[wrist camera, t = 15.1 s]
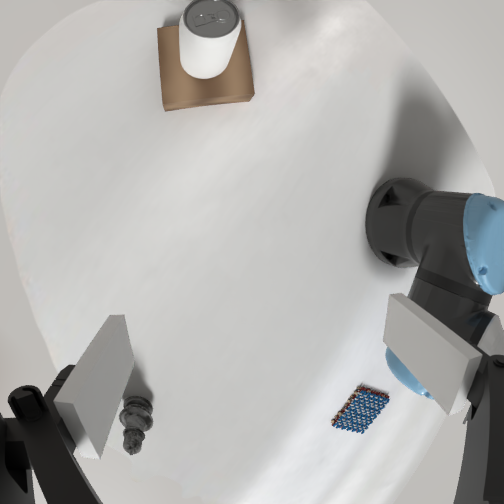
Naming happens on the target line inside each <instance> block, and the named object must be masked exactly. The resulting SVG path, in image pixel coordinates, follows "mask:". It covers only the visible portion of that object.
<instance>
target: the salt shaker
mask: <svg viewBox="0 0 504 504" xmlns="http://www.w3.org/2000/svg"><path fill="white" fill-rule="evenodd" d="M152 412H153V408H152V405H151V403H150V402H149V401H148V400H146V399H144V398H142V397H138V396H133V397H129V398H127V399H126V400H125V402H124V409H123V410H122V411H121V412H120V415H119V419H120V422H121V423H122V425H123V426H124V427H125V428H126V429H124V431H123V436H124V443H123V447H124V449H125V451H127V452H128V453H129V454H130V455H133V454H136V453H139V452H140V450H141V445H142V441H143V440H144V438H145V434H144V433H143V432H145V431H148V430H149V429H150V428H152V426H153V418H152V417H151V414H152Z"/></svg>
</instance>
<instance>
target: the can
mask: <svg viewBox="0 0 504 504" xmlns="http://www.w3.org/2000/svg"><path fill="white" fill-rule="evenodd" d="M240 30H241V19H240V13H239V10H238V8H237V7H236V6H235V4H233V3H232V2H231V1H229V0H194V1H193V2H191V3H190V4H189V5H188V6H187V7H186V9H185V11H184V13H183V14H182V16H181V18H180V22H179V46H180V62H181V65H182V67H183V69H184V70H185V71H186V72H187V73H188V74H189V75H191V76H193V77H195V78H200V79H208V78H213V77H215V76H217V75H219V74H221V73H222V72H223V71H224V70H225V69H226V67H227V65H228V63H229V60H230V58H231V55H232V52H233V49H234V47H235V44H236V41H237V39H238V36H239V33H240Z"/></svg>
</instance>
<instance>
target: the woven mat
mask: <svg viewBox="0 0 504 504" xmlns="http://www.w3.org/2000/svg"><path fill="white" fill-rule="evenodd" d="M357 389H359V390H358V391H355V392H354V396H353V395H351V396H350V397H351V398H353V399H352V400H350V399H349V400H348V403H349V404H347V403H346V404H345V405H344V406H346V407H345V408H342V409H341V410H343V411H341V412H339V413H338V416H336V415H335V416H334V417H336V418H337V419H336V420H332V421H331V423H333V424H332V426H333V427H335V426H336V425H337V424H338V425H337V427H336V428H341V429H342V430H343V429H346V428H347V427H348V429H347V431H348V430H352V432H353V431H357V433H358V432H361V431H362V430H363V431H362V432H361V434H363V433H364V431H365V430H366V429H368V427H369V426H370V424H371V423H373V421H374V419H376V417H377V416H378V415H379V414H381V411H382V409H383V408H385V406H386V405H387V403H389V400H390V399H388V398H389V396H387V395H385V394H384V393H383V394H380V392H379V393H378V392H375V391H373V390H372V391H371V390H370V389H365V387H364V388H363V387H357ZM361 390H362V391H361ZM356 395H357V396H356ZM376 395H377V396H376ZM385 398H386V399H385ZM369 404H370V405H369ZM377 411H378V412H377ZM343 412H344V413H343ZM360 415H361V416H360ZM374 416H375V417H374ZM360 425H361V426H360ZM342 426H343V427H342ZM365 426H366V427H365Z"/></svg>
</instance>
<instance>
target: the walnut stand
mask: <svg viewBox="0 0 504 504" xmlns="http://www.w3.org/2000/svg"><path fill="white" fill-rule="evenodd" d="M157 34H158V51H159V66H160V78H161V90H162V101H163V107H164V110H165V111H172V110H178V109H185V108H192V107H199V106H207V105H216V104H226V103H236V102H248V101H250V100H251V98H252V97H253V96H254V94H255V92H254V85H253V78H252V72H251V65H250V58H249V51H248V45H247V38H246V32H245V25H244V20H241V30H240V33H239V36H238V39H237V41H236V44H235V47H234V49H233V52H232V55H231V58H230V60H229V63H228V65H227V67H226V69H225V70H224V71H223V72H222V73H221V74H219V75H217V76H215V77H213V78H208V79H200V78H195V77H193V76H191V75H189V74H188V73H187V72H186V71H185V70H184V69H183V67H182V65H181V62H180V46H179V25H175V26H168V27H162V28H157Z"/></svg>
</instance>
